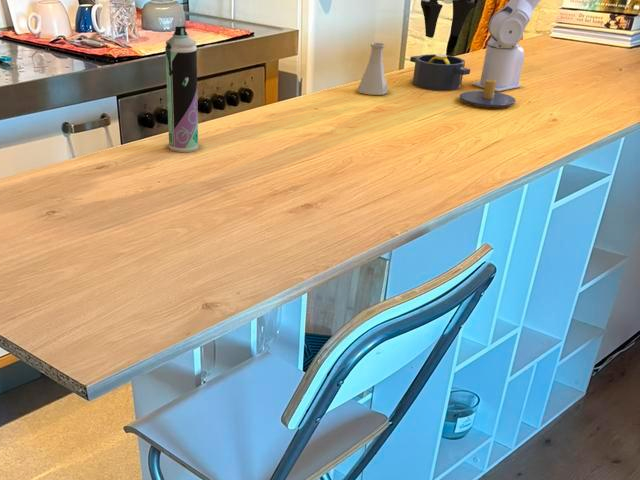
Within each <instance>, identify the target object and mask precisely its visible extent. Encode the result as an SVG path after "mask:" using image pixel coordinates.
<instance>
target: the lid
mask: <svg viewBox="0 0 640 480" xmlns="http://www.w3.org/2000/svg"><path fill="white" fill-rule="evenodd" d="M495 85H496V81H495V80H490V79H489V80H485V86H484V88H483V90H468V91H464V92H461V93H460V94H459V100H460V101H461V102H464V103H466V104H469V105H471V106H474V107H478V108H487V109H489V108H490V109H497V108H498V109H499V108H507V107H511V106H514V105H515V104H516V102H517V100H516V98H515V97H513V96H512V95H509V94H506V93H503V92H498V91H494V90H495Z"/></svg>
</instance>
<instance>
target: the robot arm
mask: <svg viewBox="0 0 640 480" xmlns="http://www.w3.org/2000/svg"><path fill="white" fill-rule="evenodd" d="M439 1H441V2H442V1H443V0H420V7H421V9H422V14H423V19H424V28H425V30H424V31H425V32H424V33H425V37H426V38H430V39H433V38H434V36H435V34H436V28H437V23H438V20H439V16H440V13H441V11H442V8H443V4H440V3H439ZM451 2H452V20H451V26H450V35H451V36H453V37H459V35H460V32H461V30H462V28H463V25H464V23H465V22H466V19H467V17H468V16H469V14H470V12H471V11H472V10H473V9H474V7H475V3H476V2H475V1H474V0H451ZM540 2H541V0H509V1H508V2H507V3H505V5H504V6H503V7H502V8H501V9H499V10H498V11H496V12H495V13H494V14H493V15H492V16H491V18H490V19H489V22H488V33H489V35H490V38H489V39H488V41H487V44H486V49H485V54H484V60H483V64H482V70H481V74H480V80H479V81H475V82H472V83H471V85H472V86H474V87H478V88H481V89H484V86H485V80H489V79H490V80H495V81H496V85H495V90H494V92H503V91H508V90H512V89H516V88H521V87H522V84H520V80H521V74H522V70H523V65H524V61H525V52H524V49H523V47H522V46H521V45H519V44H520V43H519V42H520V41H521V39H522V38H523V36H524V33H525V30H526V27H527V25H528V24H529V22H530V21H531V19H532V15H533V12H534V10H535V8H536V7H537V6H538V4H539V3H540Z"/></svg>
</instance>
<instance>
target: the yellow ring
mask: <svg viewBox="0 0 640 480" xmlns="http://www.w3.org/2000/svg"><path fill="white" fill-rule="evenodd" d="M435 59H439V60H443V61H444V62H445V63H446V64H450V62H449V60H448V59H447V54H444V53H436V54H435V57H433V58H432V59H431V60H430V61H429V62H428V63H432V62H433V61H434V60H435Z"/></svg>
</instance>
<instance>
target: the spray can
mask: <svg viewBox="0 0 640 480" xmlns="http://www.w3.org/2000/svg"><path fill="white" fill-rule="evenodd" d="M174 29H175V31H174V32H173V33H172V36H171V37H170V38H169V39H167V40H166V41H165V47H164V48H165V74H166V99H167V101H166V102H167V124H168V126H167V127H168V128H167V129H168V130H167V131H168V147H169V150H171V151H173V152H176V153H191V152H195V151H197V150H199V113H198V112H199V109H198V108H199V106H198V105H199V104H198V47H197V41H196V40H194V39H192V38H191V37H190V35H189V33H188V32H187V29H186V25H182V26H175V28H174Z"/></svg>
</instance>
